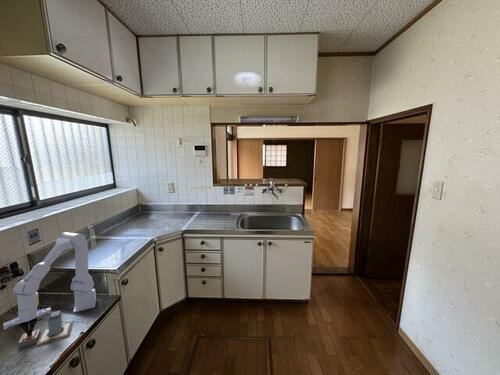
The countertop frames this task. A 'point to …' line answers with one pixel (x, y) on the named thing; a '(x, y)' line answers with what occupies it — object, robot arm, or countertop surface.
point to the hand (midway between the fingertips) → (29, 334)
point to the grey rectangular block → (55, 323)
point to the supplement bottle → (37, 298)
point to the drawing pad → (64, 333)
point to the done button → (30, 336)
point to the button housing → (29, 340)
